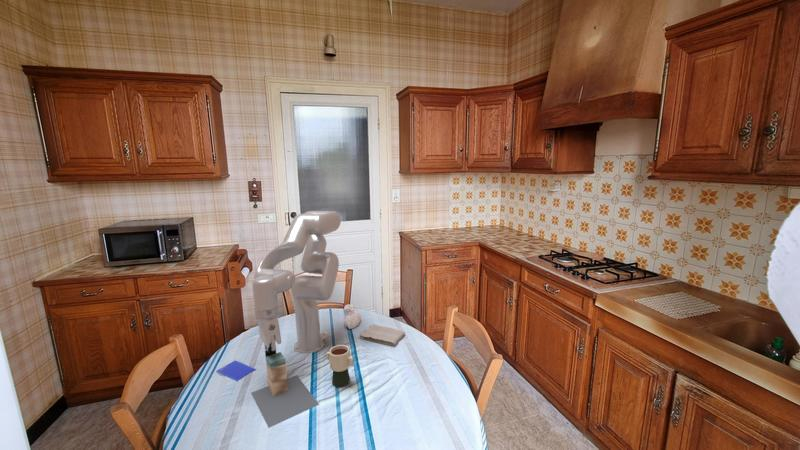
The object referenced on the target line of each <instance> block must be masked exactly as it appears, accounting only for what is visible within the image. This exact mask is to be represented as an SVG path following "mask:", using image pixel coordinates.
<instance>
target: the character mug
mask: <svg viewBox="0 0 800 450" xmlns="http://www.w3.org/2000/svg"><path fill="white" fill-rule="evenodd" d="M326 360H327V361H328V362H329V367H330V370H331V371H332V377H331V378H332V379H331V380H332V382H331V384H332V385H333V387H334V388H343V387H346V386H347V385H348V384H350V382H351V377H350V372H349V368H350V367H354V366H355V365H354V357H352V356H351V352H350V347H349V346H348V345H345V344H337V345H335V346H332V347H331V348H330V349H329V351H326Z"/></svg>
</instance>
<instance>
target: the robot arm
mask: <svg viewBox="0 0 800 450" xmlns="http://www.w3.org/2000/svg"><path fill="white" fill-rule="evenodd" d="M341 220H342V219H341V215H340V214H339V212H337V211H334V210H333V211H332V210H310V211H309V210H307V211H306V212H304V213H299V214H296V215H295V216H294V217H293V219H292V221H291V223H290V226H289V228H288V230H287V231H286V234H285V236H284V237H283V240H282V242H281V243H280V244H278V245H277V246H275V247H274V248H273V249H272V250H270V251H269V252H268V253H267V254H266V255H264V257H263V258H262V259H261V261H260V263H259V264H258V267H257V268H256V271H255V274H254V277H253V280H252V282H251V283H252V285H251V286H252V295H253V306H254V314H255V316H254V317H255V319H256V320H257V322H258V331H259V338H260V340H261V341H262V343H263V344H264V349H265V350H264V352H265V354H264V355H265V358H266V357H267V356H270V355H273V354H276V353H277V346H276V343H277V345H281V344H282V335H281V331H280V330H281V329H280V323H279V320H278V319H279V318H278V316H279V315H280V312H279V301H278V295H279V294H281V293H284V292H287V291H289V290H290V293H291V296H292V298H293V300H292V301H293V304H294V314H295V326H296V338H297V341H296V343H294V345H293V349H294V351H295V352H296V353H299V354H312V353H317V352H319V351H321V350H322V349H323V348H324V347H325V339H329V338H331V337H332V334H331V332H327V333H326V331H324V332H321V327H320V325H321V324H320V315H319V313H320V312H319V304H318V302H317V301H328V300H330V299H331V297H332V295H333V292H334V289H335V285H336V282H337V276H338V272H339V267H340V266H339V265H340V262H339V261H340V260H339V257H338V255H337V254H336V253H334V252H330V251H326V248H327V240H326V238H325V236H324V235H327V234H331V233H333V232H336V231H337V230H338V229H339V227H340V226H341V222H342V221H341ZM302 253H303V255H302V259H301V263H300V268H301V270H302V272H304V273H307V274H314V275H304V274H300V275H298V276H296V275H295V274H294V272H292V271H291V270H288V269H277V268H275V267H276V266H278V265H279V264H281V262H284V261H286V260H288V259H291V258H294V257H296V256H298V255H301V254H302ZM316 275H318V276H316ZM319 275H322V276H319Z"/></svg>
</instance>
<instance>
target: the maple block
mask: <svg viewBox="0 0 800 450" xmlns="http://www.w3.org/2000/svg"><path fill="white" fill-rule="evenodd" d="M265 362H266V363H265V364H266V374H267V381H268V382H267V386H269V390H270V391H271V393H272V395H273V396H275V395H277V394H279V393H282V392H284V391H287V390H288V384H287V378H288V375H287V364H286V363H287V362H286V357H285V356H284V354H283V353H282V352H281V351H280V352H276V354H273V355H270V356H267V357H266V356H265Z"/></svg>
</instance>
